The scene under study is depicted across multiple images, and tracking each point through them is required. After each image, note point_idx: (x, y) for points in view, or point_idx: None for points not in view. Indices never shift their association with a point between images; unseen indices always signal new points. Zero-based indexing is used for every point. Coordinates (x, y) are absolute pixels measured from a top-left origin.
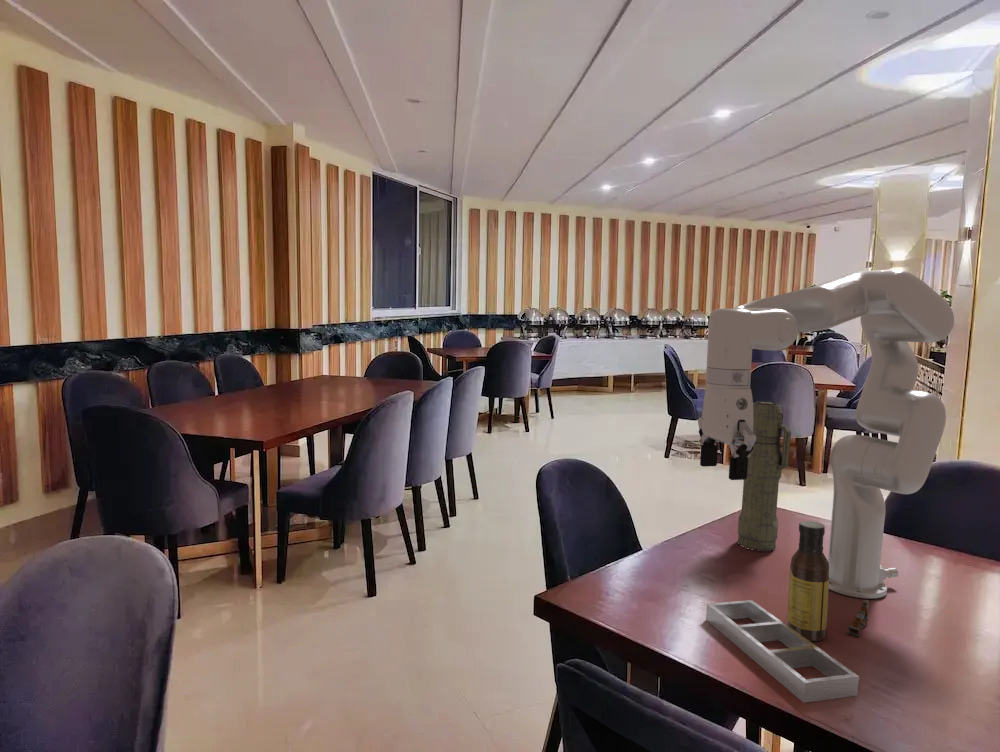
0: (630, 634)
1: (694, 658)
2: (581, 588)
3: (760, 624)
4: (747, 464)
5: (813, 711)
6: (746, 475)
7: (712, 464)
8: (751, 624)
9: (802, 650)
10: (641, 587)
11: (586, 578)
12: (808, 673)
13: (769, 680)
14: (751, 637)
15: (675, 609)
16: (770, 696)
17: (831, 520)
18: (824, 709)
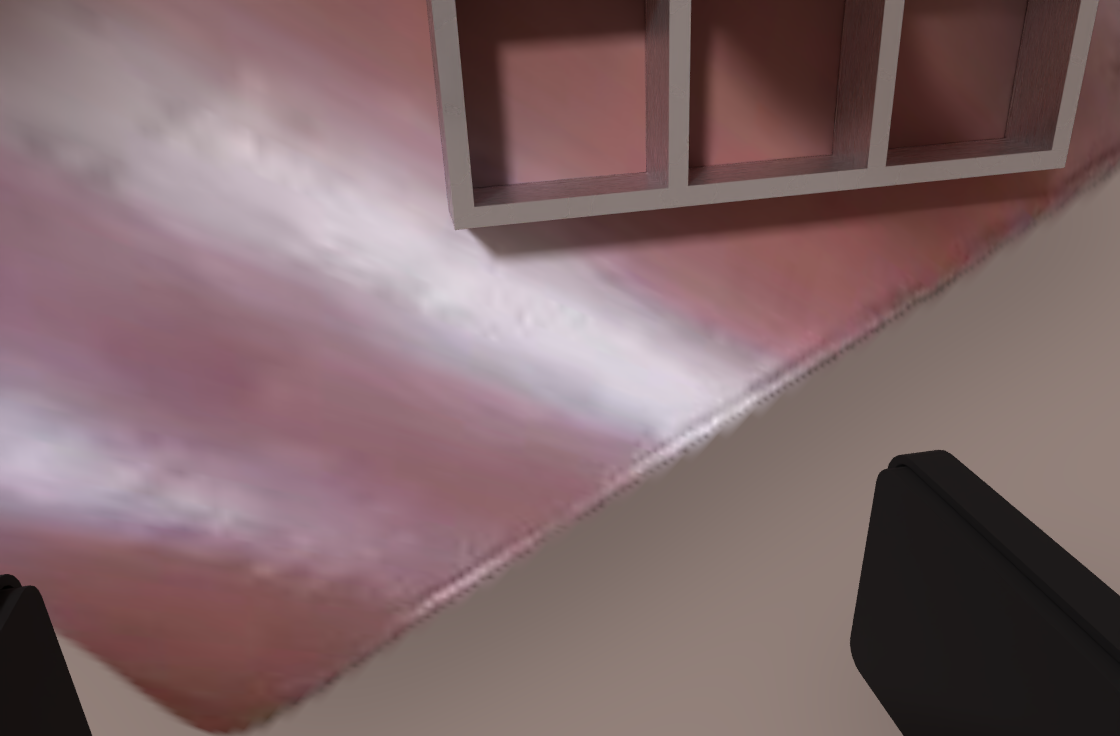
0: (534, 523)
1: (716, 374)
2: (129, 616)
3: (680, 78)
4: (1105, 589)
5: None
6: (966, 476)
7: (53, 664)
8: (675, 124)
9: (899, 22)
10: (91, 376)
11: None
12: None
13: (889, 191)
14: (769, 186)
15: (341, 302)
16: (956, 237)
17: None
18: None
